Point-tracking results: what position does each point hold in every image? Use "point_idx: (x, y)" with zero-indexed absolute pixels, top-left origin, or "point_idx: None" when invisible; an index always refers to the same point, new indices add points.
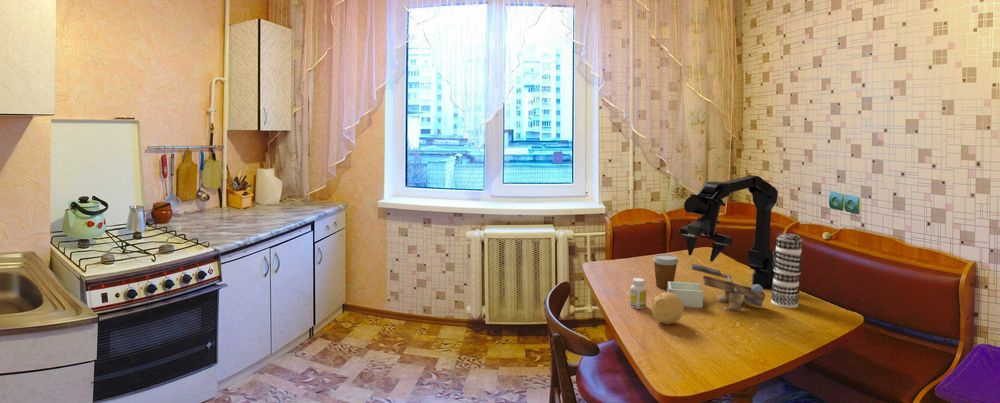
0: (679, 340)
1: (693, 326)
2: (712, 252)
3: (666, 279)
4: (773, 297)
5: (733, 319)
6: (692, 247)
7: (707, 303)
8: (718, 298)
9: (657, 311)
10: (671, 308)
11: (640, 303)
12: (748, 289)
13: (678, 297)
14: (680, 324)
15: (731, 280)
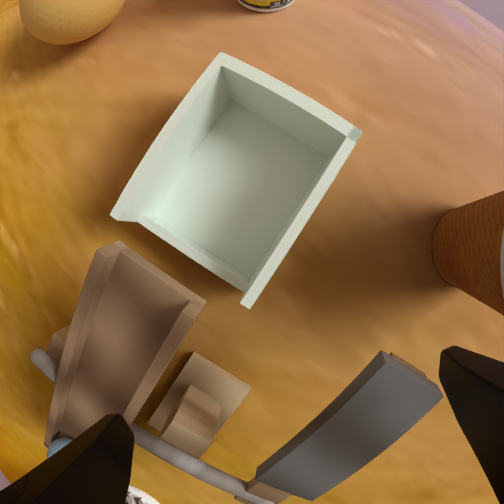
0: (18, 25)
1: (41, 85)
2: (40, 480)
3: (458, 225)
4: (128, 501)
5: (31, 255)
6: (493, 448)
7: (191, 286)
8: (206, 364)
9: None
10: None
11: None
12: None
13: (28, 2)
14: (69, 54)
15: (167, 460)
